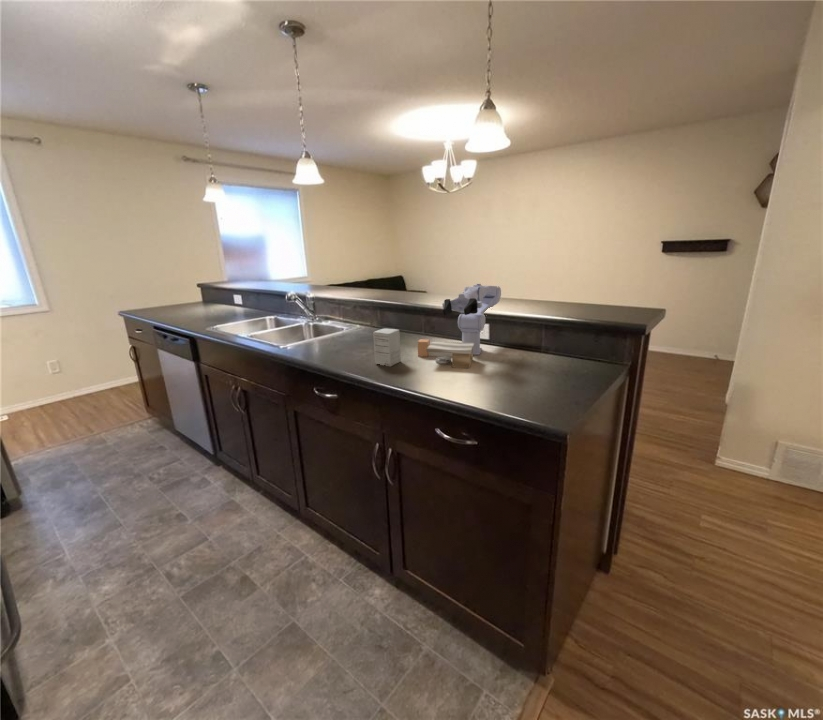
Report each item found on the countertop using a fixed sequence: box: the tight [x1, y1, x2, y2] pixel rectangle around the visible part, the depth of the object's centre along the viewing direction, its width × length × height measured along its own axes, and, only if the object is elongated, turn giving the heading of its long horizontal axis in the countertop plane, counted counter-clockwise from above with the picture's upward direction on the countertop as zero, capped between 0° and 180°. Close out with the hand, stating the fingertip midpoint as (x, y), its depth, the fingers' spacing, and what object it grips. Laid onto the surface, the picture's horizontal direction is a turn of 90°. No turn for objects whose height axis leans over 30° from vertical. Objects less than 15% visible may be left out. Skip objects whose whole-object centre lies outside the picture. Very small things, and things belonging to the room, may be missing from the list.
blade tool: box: [417, 338, 452, 358], centre depth 154 cm, size 4×14×6 cm, turn 75°
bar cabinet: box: [426, 341, 474, 369], centre depth 144 cm, size 11×16×7 cm
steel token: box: [435, 356, 452, 365], centre depth 146 cm, size 6×6×2 cm
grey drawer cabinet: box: [372, 327, 402, 367], centre depth 145 cm, size 7×7×13 cm
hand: (454, 312), depth 135 cm, fingers open, 7 cm apart
